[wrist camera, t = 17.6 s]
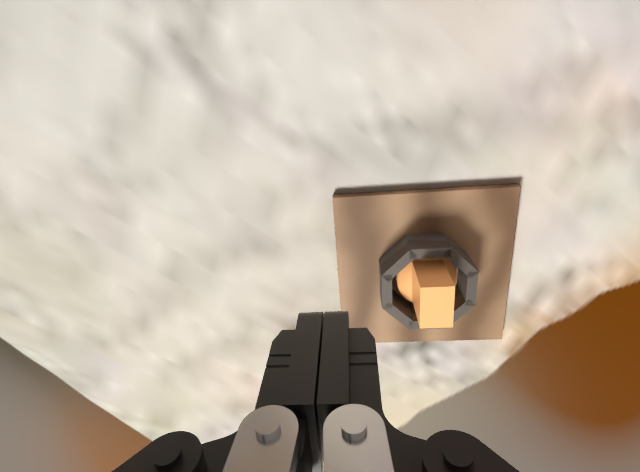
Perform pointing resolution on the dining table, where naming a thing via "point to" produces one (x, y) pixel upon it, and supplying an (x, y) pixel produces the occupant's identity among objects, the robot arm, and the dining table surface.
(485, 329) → the square base with nut
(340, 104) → the dining table surface
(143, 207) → the dining table surface
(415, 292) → the peach knob
